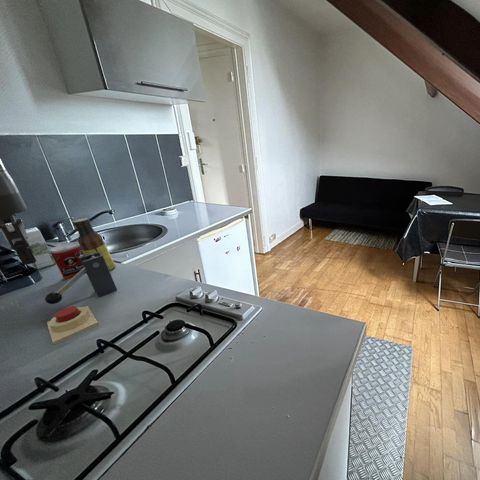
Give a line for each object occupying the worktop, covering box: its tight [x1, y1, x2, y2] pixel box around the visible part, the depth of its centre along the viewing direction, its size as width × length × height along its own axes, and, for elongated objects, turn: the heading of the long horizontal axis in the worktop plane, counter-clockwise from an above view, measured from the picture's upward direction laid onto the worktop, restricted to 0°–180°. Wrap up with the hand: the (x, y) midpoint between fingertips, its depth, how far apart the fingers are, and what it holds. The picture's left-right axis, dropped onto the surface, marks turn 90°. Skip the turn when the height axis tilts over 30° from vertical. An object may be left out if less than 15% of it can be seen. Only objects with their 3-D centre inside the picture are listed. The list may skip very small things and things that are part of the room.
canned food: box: [49, 241, 87, 281], centre depth 89 cm, size 8×8×11 cm
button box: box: [46, 305, 100, 345], centre depth 63 cm, size 11×8×4 cm
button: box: [54, 305, 80, 323], centre depth 62 cm, size 4×4×2 cm
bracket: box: [79, 252, 118, 298], centre depth 75 cm, size 11×9×13 cm
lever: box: [44, 255, 95, 305], centre depth 71 cm, size 15×3×3 cm
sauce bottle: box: [72, 217, 116, 272], centre depth 87 cm, size 6×6×20 cm
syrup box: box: [25, 226, 57, 270], centre depth 97 cm, size 6×6×14 cm
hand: (28, 258), depth 64 cm, fingers open, 8 cm apart
